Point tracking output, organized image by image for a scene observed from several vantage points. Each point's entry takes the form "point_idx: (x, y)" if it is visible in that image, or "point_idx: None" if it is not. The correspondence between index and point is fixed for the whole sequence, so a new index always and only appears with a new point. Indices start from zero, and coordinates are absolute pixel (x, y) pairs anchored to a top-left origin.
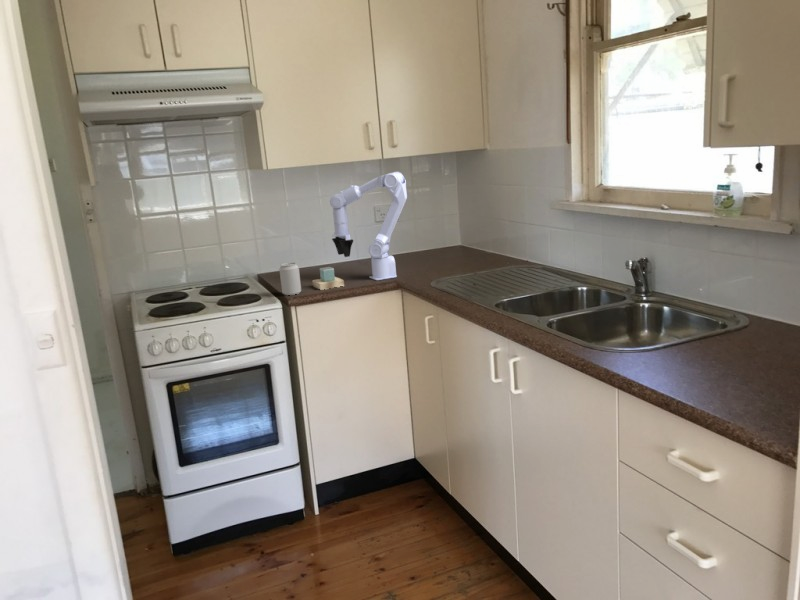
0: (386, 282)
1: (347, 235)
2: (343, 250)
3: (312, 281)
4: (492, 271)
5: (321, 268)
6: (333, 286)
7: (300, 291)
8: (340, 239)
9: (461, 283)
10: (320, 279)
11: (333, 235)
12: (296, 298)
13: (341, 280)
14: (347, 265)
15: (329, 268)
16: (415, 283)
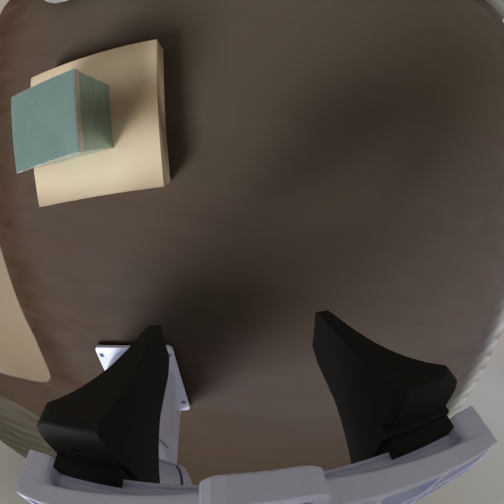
0: (59, 355)
1: (29, 501)
2: (124, 357)
3: (153, 42)
4: None
5: (57, 83)
6: None
7: (49, 1)
8: (366, 441)
9: (19, 430)
10: (139, 85)
11: (220, 498)
12: (5, 6)
13: (38, 195)
14: (467, 317)
15: (22, 141)
16: (30, 393)
